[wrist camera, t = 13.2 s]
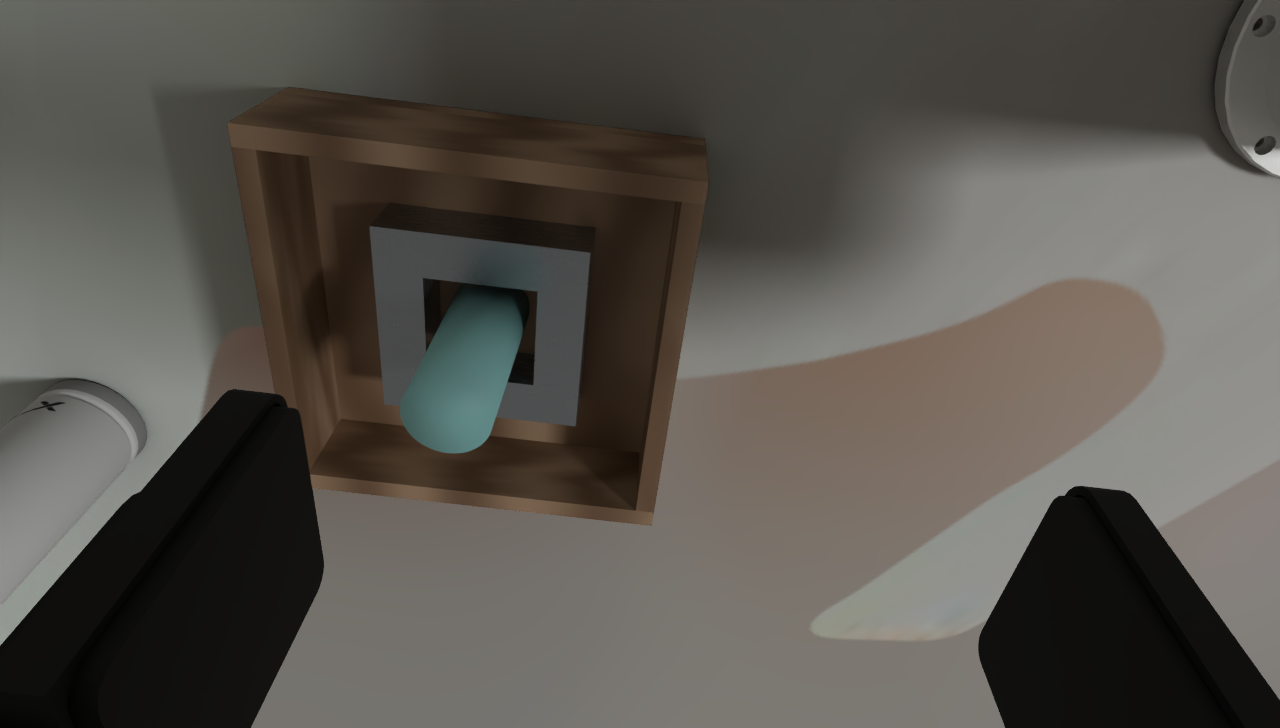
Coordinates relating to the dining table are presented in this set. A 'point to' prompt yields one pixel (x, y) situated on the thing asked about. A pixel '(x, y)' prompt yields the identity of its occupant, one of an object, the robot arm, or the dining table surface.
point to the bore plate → (493, 256)
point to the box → (471, 182)
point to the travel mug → (59, 468)
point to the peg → (466, 369)
